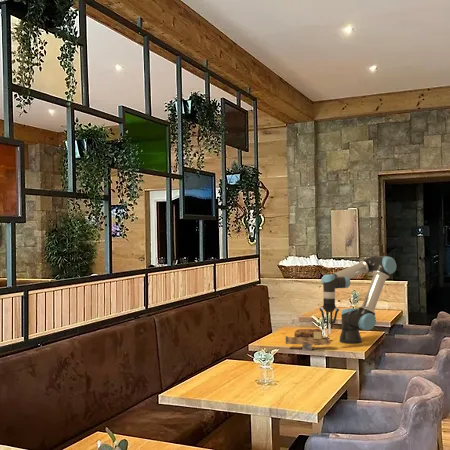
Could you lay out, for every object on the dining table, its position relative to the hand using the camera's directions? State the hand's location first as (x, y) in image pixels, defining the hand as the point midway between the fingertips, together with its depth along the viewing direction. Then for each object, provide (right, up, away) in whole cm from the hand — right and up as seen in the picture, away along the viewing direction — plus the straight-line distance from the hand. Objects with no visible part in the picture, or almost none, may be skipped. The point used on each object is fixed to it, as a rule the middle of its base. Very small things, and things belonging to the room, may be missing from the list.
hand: (329, 333), depth 363 cm
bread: (-11, -11, +22) cm, 27 cm away
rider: (-8, -5, +1) cm, 9 cm away
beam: (-14, -11, +2) cm, 18 cm away
